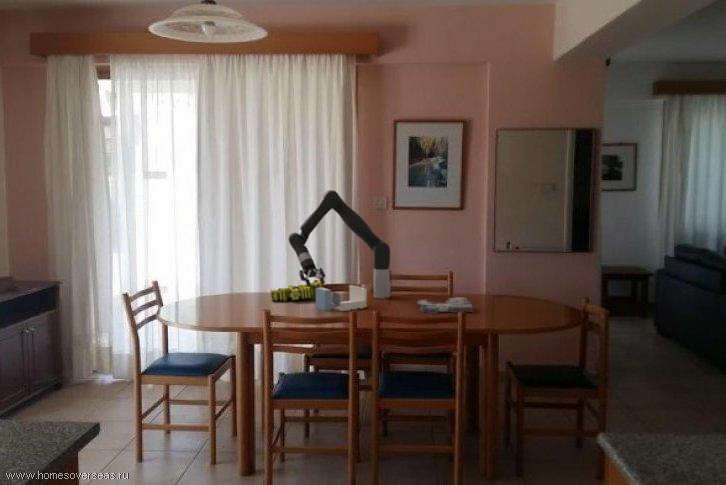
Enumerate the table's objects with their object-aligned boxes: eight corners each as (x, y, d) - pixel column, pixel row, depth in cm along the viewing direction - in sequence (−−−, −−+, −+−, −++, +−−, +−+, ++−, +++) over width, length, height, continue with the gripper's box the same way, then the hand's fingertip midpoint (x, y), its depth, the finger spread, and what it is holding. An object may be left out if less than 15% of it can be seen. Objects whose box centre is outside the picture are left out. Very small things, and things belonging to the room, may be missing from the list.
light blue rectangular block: (322, 306, 341) (322, 287, 340) (331, 310, 333) (331, 289, 332) (315, 307, 339) (315, 287, 338) (324, 310, 331) (324, 290, 329)
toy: (269, 284, 366) (318, 278, 373) (270, 301, 367) (320, 295, 374) (271, 289, 350) (323, 283, 356) (273, 307, 351) (325, 300, 358)
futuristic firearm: (466, 303, 343) (472, 314, 323) (416, 305, 343) (419, 316, 323) (466, 294, 342) (472, 304, 322) (416, 296, 342) (419, 306, 322)
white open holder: (351, 302, 351) (351, 285, 350) (366, 307, 338) (366, 289, 337) (327, 306, 343) (326, 288, 342) (341, 311, 329) (341, 292, 328)
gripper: (297, 259, 343) (307, 282, 334) (319, 257, 350) (330, 279, 342) (293, 267, 348) (303, 290, 339) (315, 265, 355) (325, 287, 347)
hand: (316, 285), depth 341 cm, fingers open, 8 cm apart
